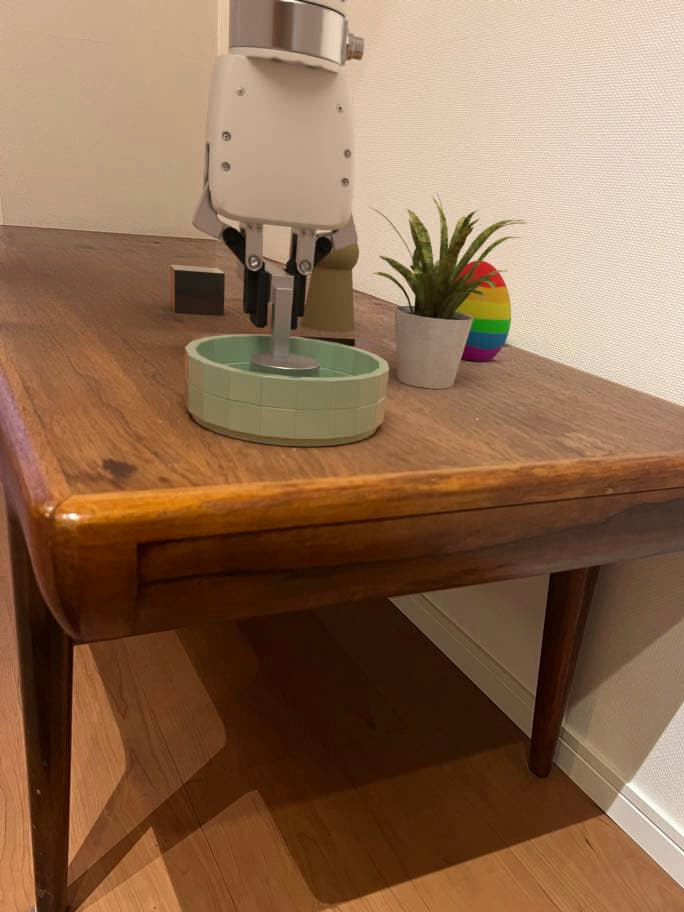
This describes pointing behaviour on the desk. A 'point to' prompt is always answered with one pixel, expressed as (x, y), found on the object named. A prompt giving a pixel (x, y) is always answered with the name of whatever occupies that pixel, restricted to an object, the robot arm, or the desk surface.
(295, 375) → the silver stamp handle
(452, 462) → the desk surface
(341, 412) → the bowl
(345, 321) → the cork
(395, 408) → the desk surface
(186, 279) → the dark wooden cube
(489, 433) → the desk surface
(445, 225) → the house plant
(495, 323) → the decorative egg
